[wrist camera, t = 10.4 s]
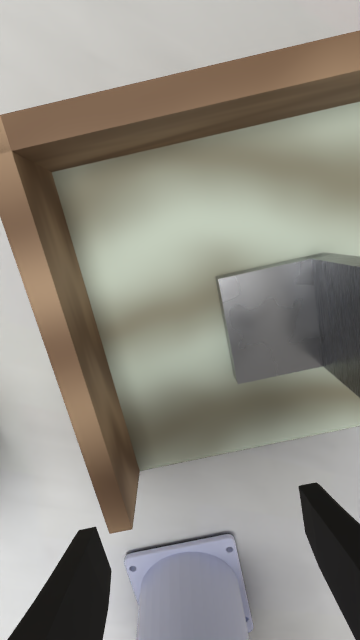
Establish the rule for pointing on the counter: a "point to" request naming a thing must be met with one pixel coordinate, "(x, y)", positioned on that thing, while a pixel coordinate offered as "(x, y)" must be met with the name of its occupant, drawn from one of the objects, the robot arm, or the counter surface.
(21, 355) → the counter surface
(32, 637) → the robot arm
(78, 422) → the arena
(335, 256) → the bracket
